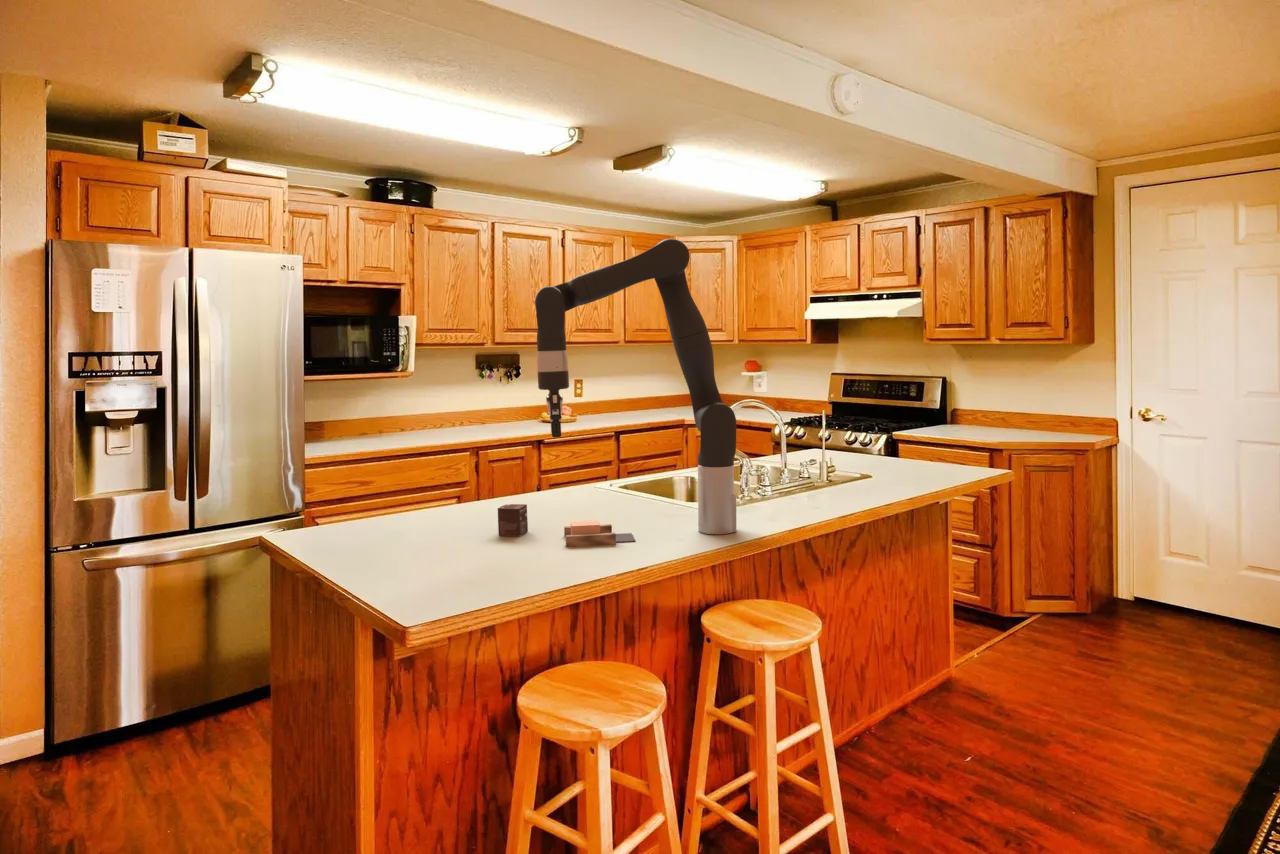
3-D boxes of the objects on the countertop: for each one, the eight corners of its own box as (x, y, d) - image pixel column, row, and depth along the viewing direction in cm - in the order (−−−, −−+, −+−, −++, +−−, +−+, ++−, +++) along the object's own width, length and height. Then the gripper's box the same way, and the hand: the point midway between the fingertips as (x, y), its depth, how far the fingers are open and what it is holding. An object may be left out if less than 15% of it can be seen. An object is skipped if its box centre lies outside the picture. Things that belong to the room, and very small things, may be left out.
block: (598, 538, 191) (598, 520, 190) (600, 542, 186) (599, 524, 185) (570, 539, 190) (570, 521, 190) (571, 544, 185) (571, 526, 185)
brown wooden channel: (611, 533, 194) (611, 524, 194) (615, 544, 183) (615, 534, 183) (564, 536, 193) (564, 526, 192) (566, 546, 182) (565, 536, 182)
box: (520, 537, 193) (519, 508, 192) (497, 536, 194) (496, 508, 193) (528, 531, 199) (527, 504, 198) (506, 531, 200) (505, 503, 199)
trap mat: (631, 534, 193) (631, 533, 193) (635, 541, 186) (635, 540, 186) (611, 535, 193) (611, 534, 193) (615, 542, 185) (615, 541, 185)
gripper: (569, 369, 179) (572, 437, 180) (567, 368, 193) (570, 431, 194) (537, 370, 178) (541, 439, 179) (537, 369, 192) (540, 433, 193)
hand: (556, 435), depth 187 cm, fingers open, 8 cm apart
